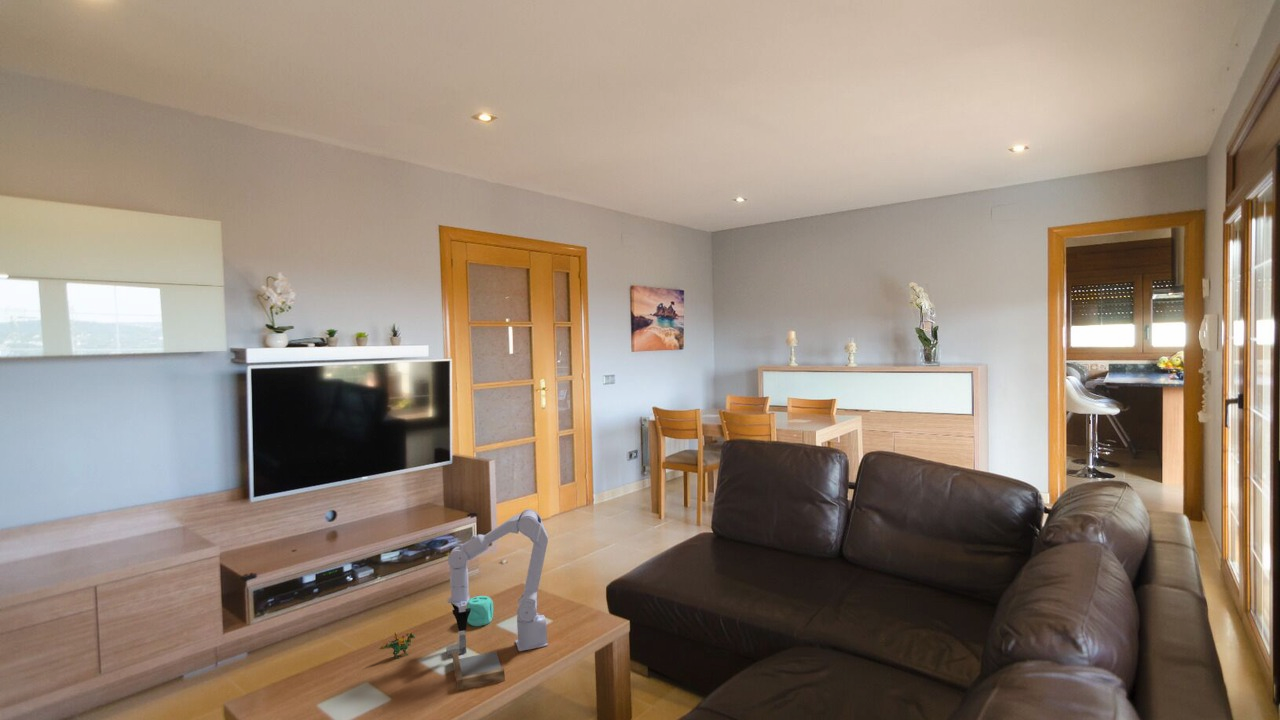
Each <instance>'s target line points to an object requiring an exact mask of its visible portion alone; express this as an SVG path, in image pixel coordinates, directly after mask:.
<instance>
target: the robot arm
mask: <svg viewBox="0 0 1280 720" xmlns="http://www.w3.org/2000/svg"><path fill="white" fill-rule="evenodd" d="M519 532H520V533H521V535H523V536H525V537H526V538H529V540H530V541H531V542H532V543H533V546H532V549H531V554H530V559H529V564H528V565H529V566H528V570H527V573H526V574H527V575H526V578H525V579H526V580H525V585H524V589H523V593H522V594H521V596H520V597H519V599H518V607H517V610H516V615H517V616H516V627H517V629H516V630H517V639H515V640H514V641H515V644H516V646H517V650H518V651H519V652H523V651H529V650H532V649H538V648H543V647H547V646H548V629H547V620H546V617H545V615H544V614H539V613H538V611H537V607H538V599H537V596H538V591H539V586H540V581H541V576H542V571H543V565H544V561H545V557H546V552H547V551H546V550H547V546H548V542H549V536H548V533H547V531H546V528H545V525H544V523H543V519H542V517H541V516H540V515H539V514H538V513H537V511H536V510H534V509H530V508H529V509H525V510H523V511H522V512H519V513H517V514H514V515H513V516H512V517H510V518H509V519H507V520H506V521H504V522H502V523H501V524H500V525H498V526H496V527H495V528H494V529H492V530H490V531H489V532H488V533H486V534H481V533H480V534H479V533H478V534H477V535H476V534H473V535H472V536H471V538H470V539H469V540H467V541H465V542H464V543H459V545H458V546H455V547H454V548H452V550H451V551H450V554H449V555H448V558H447V563H448V565H449V579H450V581H449V585H450V598H447V599H446V600H447V603H448V604H451V605H452V608H453V609H452V610H451V611H452V614H453V616H454V618H455V620H456V625H457V630H458V631H464V630H465V631H466V630H467V626H468V622H467V620H468V616H469V614H470V611H471V608H467V609H466V607H467V603H468V601H469V600H470V599H471V597H470V587H469V586H470V585H469V570H468V561H471V560H473V559H475V558H476V557H477V556H479V555H481V554H482V553H484V552H486V551H487V550H488V549H489V546H490V545H491V544H492V543H493V542H495V541H497V540H499V539H501V538H502V537H504V536H506V535H508V534H509V533H511V534H517V535H518V534H519Z"/></svg>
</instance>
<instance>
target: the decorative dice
mask: <svg viewBox="0 0 1280 720" xmlns="http://www.w3.org/2000/svg"><path fill="white" fill-rule="evenodd" d="M467 608H471V611H470V614H469V616H468V620H467V624H469V625H470V626H472V627H482V626H485V625H488V624H489V623H491V622H492V620H493V616H494V601H493V599H492V598H491V597H490V596H487V595H479V596H478V595H477V596H474V597H470V600H469V601H468V603H467V604H466V608H465V609H467Z"/></svg>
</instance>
